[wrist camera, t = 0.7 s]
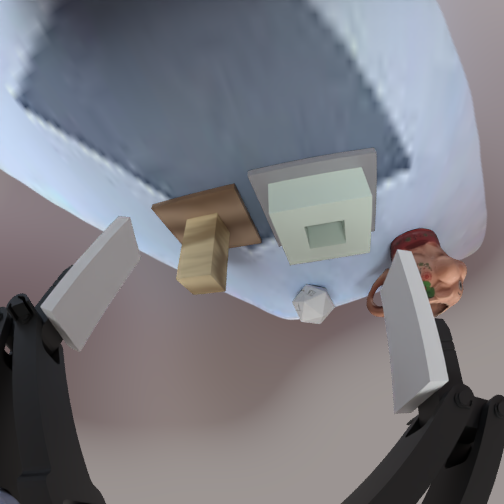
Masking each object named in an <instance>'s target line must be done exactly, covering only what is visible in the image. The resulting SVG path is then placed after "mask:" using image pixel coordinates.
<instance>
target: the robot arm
mask: <svg viewBox="0 0 504 504" xmlns="http://www.w3.org/2000/svg"><path fill="white" fill-rule="evenodd" d="M140 259H141V257H140V253H139V249H138V246H137V242H136V238H135V235H134V231H133V227H132V223H131V219H130V217H122V216H118V217H117V218H116V219H115V220H114V221H113V222H112V224H111V225H110V226H109V227H108V228H107V229H106V230H105V231H104V232H103V233H102V234H101V235H100V236H99V237H98V238H97V240H95V241H94V242H93V244H92V245H91V246H90V247H89V248H88V249H87V250H86V251H85V253H84V254H83V255H82V256H81V257H80V258H79V259H78V260H77V262H76V263H75V264H74V265H71V266H70V267H69V268H67V269H66V270H64V271H63V273H62V274H61V275H60V276H59V277H58V280H56V281H55V282H54V284H53V286H51V287H50V289H49V290H48V291H47V292H46V293H45V295H44V296H43V297H42V299H41V300H40V301H39V303H38V304H37V305H36V306H35V307H34V306H33V304H32V303H31V301H30V300H29V298H28V297H27V295H26V294H23V293H22V294H18V295H16V296H14V297H13V298H12V299H11V300H10V301H9V303H8V304H7V307H6V308H5V307H0V504H106V503H105V501H104V498H103V496H102V494H101V493H100V491H99V490H98V489H97V488H96V487H95V486H94V485H93V484H92V482H91V480H90V477H89V474H88V471H87V468H86V465H85V462H84V458H83V455H82V452H81V448H80V444H79V440H78V437H77V433H76V428H75V424H74V420H73V415H72V410H71V405H70V399H69V393H68V387H67V380H66V373H65V364H64V355H63V347H62V345H61V344H60V343H61V342H62V340H64V341H65V343H66V344H67V345H68V346H69V347H70V348H72V349H75V350H77V351H79V352H80V351H81V350H82V348H83V346H84V345H85V343H86V341H87V340H88V338H89V336H90V335H91V333H92V331H93V330H94V328H95V326H96V325H97V323H98V322H99V320H100V319H101V317H102V315H103V314H104V312H105V311H106V309H107V307H108V306H109V305H110V303H111V301H112V300H113V298H114V297H115V295H116V294H117V292H118V291H119V290H120V288H121V286H122V285H123V284H124V282H125V281H126V279H127V278H128V276H129V275H130V273H131V272H132V271H133V269H134V268H135V266H136V265H137V264H138V262H139V261H140ZM380 294H381V300H382V305H383V311H384V317H385V324H386V331H387V338H388V346H389V354H390V363H391V374H392V385H393V400H394V413H411V412H412V411H414V410H415V409H416V408H417V407H418V411H419V415H417V416H416V417H415V418H413V419H412V420H410V421H409V422H408V423H407V425H410V424H411V425H410V426H409V427H408V429H407V430H406V432H405V433H404V434H403V436H402V437H401V438H400V440H399V441H398V442H397V443H396V445H395V446H394V447H393V448H392V450H391V451H390V452H389V453H388V455H387V456H386V457H385V458H384V459H383V461H382V462H381V463H380V464H379V465H378V466H377V467H376V469H375V470H374V471H373V472H372V473H371V474H370V475H369V476H368V478H367V479H365V481H364V482H363V483H362V484H361V485H360V486H359V487H358V488H357V489H356V490H355V491H354V492H353V493H352V494H351V495H350V496H349V497H348V498H346V499H345V500H344V501H343V502H342V503H341V504H416V503H417V502H418V501H419V499H420V498H421V497H422V495H423V494H424V493H425V491H426V490H427V489H428V487H429V486H430V487H429V490H428V492H427V494H426V496H425V498H424V500H423V502H422V504H487V502H488V499H489V496H490V494H491V491H492V488H493V485H494V482H495V479H496V475H497V472H498V469H499V465H500V461H501V457H502V453H503V449H504V397H503V396H502V395H496V396H494V397H493V398H491V399H490V400H484V399H481V398H478V397H475V396H474V395H473V392H472V390H471V389H470V388H469V387H468V386H466V385H464V384H463V381H462V377H461V373H460V368H459V364H458V359H457V355H456V351H455V350H454V349H455V347H454V343H453V342H452V336H451V333H450V329H449V327H448V326H447V324H446V323H445V321H444V320H443V319H436V318H434V316H433V313H432V309H431V306H430V303H429V300H428V296H427V293H426V290H425V287H424V284H423V281H422V279H421V276H420V273H419V270H418V267H417V265H416V262H415V260H414V257H413V254H412V252H411V251H405V250H399V249H397V251H396V254H395V257H394V259H393V262H392V264H391V267H390V269H389V272H388V274H387V277H386V279H385V281H384V284H383V286H382V288H381V291H380ZM5 345H6V346H7V347H8V348H9V349H10V353H9V354H7V353H6V352H5V350H4V349H5ZM430 484H431V485H430Z"/></svg>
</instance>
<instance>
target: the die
mask: <svg viewBox="0 0 504 504" xmlns="http://www.w3.org/2000/svg"><path fill="white" fill-rule="evenodd" d="M292 303H293V305H294V307H295V309H296V311H297V314H298V316H299V318H300V320H301V322H309V323H317V324H321V323H322V322H323V320H324V319H325V318H326V317H327V316H328V315H329V313H330V312H331V311H332V310H333V309H334V307H335V306H334V304H333V302H332V300H331V298H330V296H329V294H328V293H327V291H326V289H325V288H323V287H318V286H313V285H308V284H306V285H305V286H304V288H303V289H302V291H300V293H299V294H298V295H297V296H296V298H295V299H294V300H293V301H292Z"/></svg>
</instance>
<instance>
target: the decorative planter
mask: <svg viewBox="0 0 504 504" xmlns="http://www.w3.org/2000/svg"><path fill="white" fill-rule="evenodd" d="M397 249H399V250H405V251H411V252H412V254H413V257H414V260H415V262H416V265H417V267H418V270H419V273H420V276H421V279H422V281H423V284H424V287H425V290H426V293H427V296H428V300H429V303H430V306H431V309H432V313H433V316H434V317H436V316H438V315H440V314H441V313H443V312H445V311H446V310H447V309H448V308H449V307H451V306H453V305H454V304H456V303H457V302H458V301H459V299H460V298H461V296H462V293H463V281H464V278H465V277H466V274H467V268H466V265H465V264H464V263H463V262H461V261H459V260H456V259H453V258H451V257H450V256H448V255H447V254H446V253H445V252H444V251H443V250H442V249H441V247H440V244H439V240H438V238H437V236H436V234H435V233H434V232H433V231H431V230H429V229H424V228H420V229H415V230H411V231H408V232H406V233H404V234H402V235H400V236H398V237H397V238H396V239H395V240H394V241H393V242H392V244H391V260H392V262H393V259H394V257H395V254H396V251H397ZM388 272H389V268H387V269H386V270H385V271H384V272H383V273H382V275H381V276H380V277H379V278H378V279H377V280H376V282H375V283H374V284H373V286H372V288H371V290H370V292H369V295H368V297H367V308H368V310H369V311H370V312H371V314H373V315H375V316H377V317H384V311H383V306H381V307H380V306H377V305H375V303H374V302H373V296H374V294H375V292H376V290H377V289H378V287H379V286H381V285H383V284H384V281H385V279H386V277H387V274H388Z"/></svg>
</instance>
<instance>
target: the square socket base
mask: <svg viewBox="0 0 504 504" xmlns="http://www.w3.org/2000/svg"><path fill="white" fill-rule="evenodd" d="M248 178H249V180H250V182H251V184H252V187H253V189H254V191H255V193H256V196H257V198H258V200H259V202H260V204H261V207H262V209H263V211H264V213H265V216H266V218H267V220H268V222H269V225H270V227H271V229H272V232H273V234H274V236H275V238H276V241H277V243H278V245H279V247H280V246H282V247H283V249H284V251H285V254H286V256H287V259H288V261H289V264H290V265H295V264H301V263H308V262H314V261H321V260H327V259H333V258H340V257H346V256H352V255H358V254H364V253H370V242H371V232H372V231H375V215H376V185H377V158H376V151H375V149H374V148H368V149H361V150H354V151H347V152H341V153H335V154H329V155H323V156H317V157H312V158H306V159H301V160H296V161H291V162H286V163H281V164H277V165H272V166H267V167H263V168H258V169H254V170H250V171H248Z"/></svg>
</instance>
